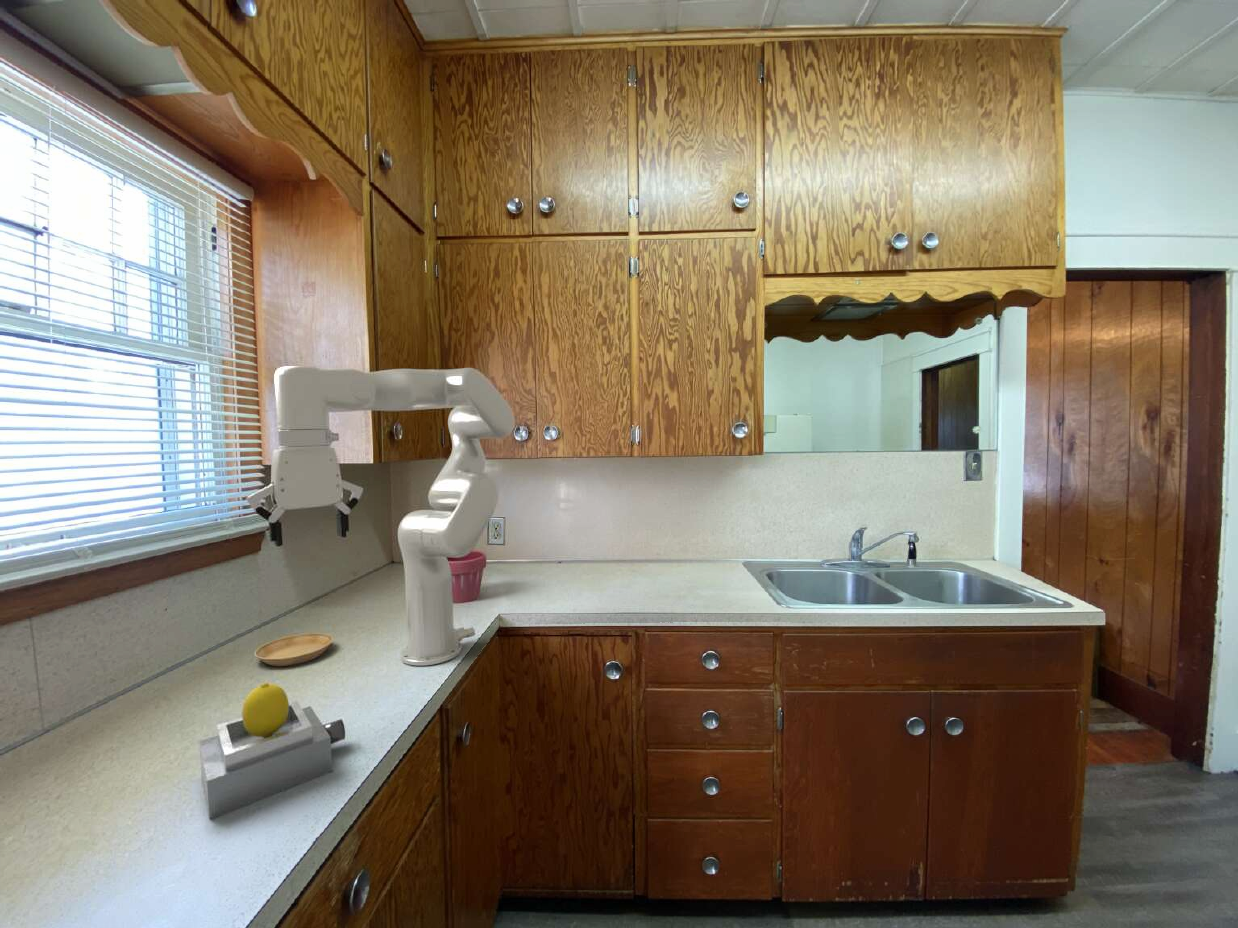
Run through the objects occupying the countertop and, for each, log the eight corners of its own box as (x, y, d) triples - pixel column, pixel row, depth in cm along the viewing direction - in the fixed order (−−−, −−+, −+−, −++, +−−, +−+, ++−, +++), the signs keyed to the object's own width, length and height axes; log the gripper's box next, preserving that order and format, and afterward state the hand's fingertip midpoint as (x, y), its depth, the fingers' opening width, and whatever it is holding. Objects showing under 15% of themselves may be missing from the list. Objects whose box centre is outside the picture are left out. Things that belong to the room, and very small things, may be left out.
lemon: (268, 750, 73) (264, 694, 73) (233, 747, 74) (230, 691, 74) (299, 728, 78) (296, 675, 78) (266, 725, 79) (263, 673, 79)
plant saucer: (265, 649, 122) (265, 638, 122) (338, 639, 127) (337, 628, 127) (246, 676, 108) (245, 663, 108) (327, 663, 113) (327, 651, 113)
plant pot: (485, 604, 151) (483, 559, 150) (433, 607, 148) (431, 562, 148) (489, 589, 165) (488, 548, 164) (442, 592, 163) (440, 551, 162)
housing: (332, 729, 87) (330, 687, 87) (354, 761, 78) (352, 715, 78) (201, 775, 76) (198, 727, 76) (209, 819, 67) (205, 765, 67)
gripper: (353, 439, 99) (358, 530, 100) (239, 442, 87) (246, 545, 88) (366, 439, 93) (371, 535, 94) (246, 442, 82) (254, 552, 83)
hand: (311, 540), depth 91 cm, fingers open, 9 cm apart
